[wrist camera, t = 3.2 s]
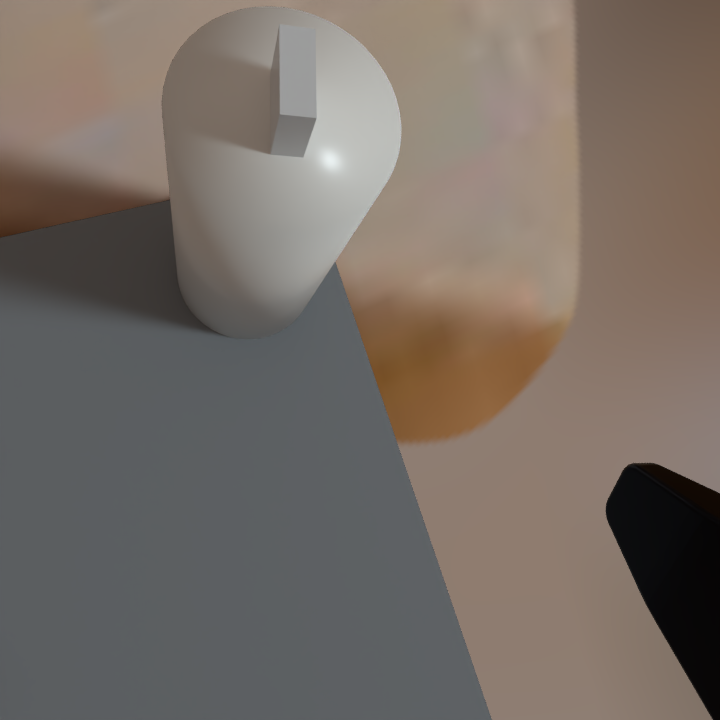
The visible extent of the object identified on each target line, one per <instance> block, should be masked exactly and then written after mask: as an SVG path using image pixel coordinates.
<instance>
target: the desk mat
mask: <svg viewBox="0 0 720 720" xmlns="http://www.w3.org/2000/svg"><path fill="white" fill-rule="evenodd" d="M0 720H492V719H491V716H490V714H489V710H488V707H487V705H486V702H485V699H484V696H483V693H482V690H481V687H480V684H479V681H478V678H477V675H476V673H475V670H474V666H473V664H472V661H471V658H470V655H469V652H468V649H467V646H466V643H465V640H464V637H463V635H462V631H461V629H460V626H459V623H458V620H457V617H456V614H455V611H454V608H453V605H452V602H451V599H450V596H449V593H448V590H447V587H446V585H445V582H444V579H443V576H442V573H441V570H440V567H439V564H438V561H437V558H436V556H435V552H434V549H433V547H432V544H431V541H430V538H429V535H428V532H427V529H426V526H425V523H424V520H423V517H422V515H421V512H420V509H419V506H418V503H417V500H416V497H415V494H414V491H413V488H412V485H411V482H410V480H409V477H408V473H407V471H406V468H405V465H404V462H403V459H402V456H401V453H400V450H399V447H398V444H397V441H396V438H395V435H394V432H393V430H392V427H391V424H390V421H389V418H388V415H387V412H386V409H385V406H384V403H383V400H382V397H381V394H380V392H379V389H378V386H377V383H376V380H375V377H374V374H373V371H372V368H371V365H370V362H369V359H368V356H367V354H366V351H365V348H364V345H363V342H362V339H361V336H360V333H359V330H358V327H357V324H356V321H355V318H354V315H353V313H352V310H351V307H350V304H349V301H348V298H347V295H346V292H345V289H344V286H343V283H342V280H341V277H340V275H339V272H338V269H337V266H336V263H335V262H334V264H333V266H332V267H331V269H330V270H329V272H328V273H327V275H326V276H325V278H324V279H323V281H322V282H321V284H320V285H319V287H318V288H317V290H316V292H315V293H314V295H313V296H312V298H311V299H310V301H309V302H308V304H307V305H306V307H305V308H304V310H303V311H302V313H301V314H300V316H299V317H298V318H297V319H296V320H295V321H294V322H293V323H292V324H290V325H289V326H288V327H287V328H285V329H283V330H282V331H280V332H278V333H276V334H273V335H271V336H267V337H264V338H258V339H237V338H232V337H228V336H225V335H222V334H220V333H218V332H216V331H214V330H212V329H210V328H209V327H207V326H206V325H204V324H203V323H202V322H201V321H200V320H198V319H197V318H196V317H195V315H194V314H193V313H192V312H191V311H190V309H189V308H188V306H187V305H186V303H185V301H184V299H183V297H182V295H181V292H180V289H179V284H178V279H177V268H176V257H175V246H174V236H173V225H172V214H171V204H170V200H168V201H163V202H159V203H154V204H150V205H145V206H141V207H136V208H132V209H127V210H123V211H118V212H114V213H109V214H105V215H100V216H96V217H91V218H87V219H82V220H78V221H73V222H69V223H64V224H60V225H55V226H51V227H46V228H42V229H37V230H33V231H28V232H24V233H19V234H15V235H10V236H6V237H1V238H0Z"/></svg>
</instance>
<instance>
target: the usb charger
mask: <svg viewBox="0 0 720 720" xmlns="http://www.w3.org/2000/svg"><path fill="white" fill-rule="evenodd" d="M162 118H163V129H164V140H165V150H166V161H167V172H168V182H169V193H170V204H171V214H172V225H173V236H174V246H175V257H176V268H177V279H178V284H179V289H180V292H181V295H182V297H183V299H184V301H185V303H186V305H187V306H188V308H189V309H190V311H191V312H192V313H193V314H194V315H195V317H196V318H197V319H198V320H200V321H201V322H202V323H203V324H204V325H206V326H207V327H209V328H210V329H212V330H214V331H216V332H218V333H220V334H222V335H225V336H228V337H232V338H237V339H258V338H264V337H267V336H271V335H273V334H276V333H278V332H280V331H282V330H283V329H285V328H287V327H288V326H289V325H290V324H292V323H293V322H294V321H295V320H296V319H297V318H298V317H299V316H300V314H301V313H302V311H303V310H304V308H305V307H306V305H307V304H308V302H309V301H310V299H311V298H312V296H313V295H314V293H315V292H316V290H317V288H318V287H319V285H320V284H321V282H322V281H323V279H324V278H325V276H326V275H327V273H328V272H329V270H330V269H331V267H332V266H333V264H334V262H335V261H336V259H337V258H338V256H339V255H340V253H341V252H342V250H343V249H344V247H345V246H346V244H347V243H348V241H349V240H350V238H351V236H352V235H353V233H354V232H355V230H356V229H357V227H358V226H359V224H360V223H361V221H362V220H363V218H364V217H365V215H366V214H367V212H368V211H369V209H370V207H371V206H372V204H373V203H374V201H375V200H376V198H377V197H378V195H379V194H380V192H381V191H382V189H383V188H384V186H385V185H386V183H387V181H388V180H389V178H390V176H391V174H392V172H393V170H394V168H395V164H396V161H397V158H398V155H399V150H400V144H401V119H400V111H399V107H398V103H397V99H396V96H395V94H394V91H393V88H392V86H391V84H390V82H389V80H388V78H387V76H386V74H385V72H384V71H383V69H382V68H381V66H380V65H379V64H378V62H377V61H376V59H375V58H374V57H373V56H372V55H371V54H370V52H369V51H368V50H367V49H366V48H365V47H364V46H363V45H362V44H361V43H360V42H359V41H357V40H356V39H355V38H354V37H353V36H351V35H350V34H349V33H347V32H346V31H345V30H343V29H342V28H340V27H338V26H336V25H335V24H333V23H331V22H329V21H327V20H325V19H323V18H321V17H318V16H316V15H313V14H310V13H307V12H304V11H301V10H296V9H291V8H285V7H273V6H265V7H252V8H245V9H240V10H237V11H233V12H230V13H226V14H224V15H222V16H220V17H218V18H215V19H213V20H212V21H210V22H208V23H207V24H205V25H204V26H202V27H201V28H199V29H198V30H197V31H196V32H195V33H194V34H192V35H191V36H190V37H189V38H188V39H187V41H186V42H185V43H184V44H183V45H182V46H181V47H180V49H179V51H178V52H177V54H176V55H175V57H174V59H173V60H172V63H171V65H170V67H169V70H168V72H167V75H166V79H165V83H164V87H163V95H162Z"/></svg>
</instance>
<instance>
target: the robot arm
mask: <svg viewBox="0 0 720 720" xmlns="http://www.w3.org/2000/svg"><path fill="white" fill-rule="evenodd" d="M606 516H607V520H608V523H609V525H610V527H611V529H612V532H613V534H614V536H615V538H616V540H617V543H618V545H619V547H620V549H621V551H622V554H623V556H624V558H625V560H626V562H627V565H628V566H629V569H630V571H631V573H632V576H633V578H634V580H635V582H636V584H637V586H638V589H639V591H640V593H641V595H642V597H643V599H644V601H645V603H646V605H647V607H648V609H649V610H650V612H651V614H652V616H653V618H654V620H655V621H656V623H657V625H658V627H659V628H660V630H661V632H662V633H663V635H664V637H665V639H666V640H667V642H668V644H669V645H670V647H671V649H672V650H673V652H674V654H675V656H676V657H677V659H678V661H679V663H680V664H681V666H682V668H683V669H684V671H685V673H686V675H687V676H688V678H689V680H690V681H691V683H692V685H693V687H694V688H695V690H696V692H697V693H698V695H699V697H700V698H701V700H702V702H703V703H704V705H705V707H706V709H707V711H708V712H709V714H710V716H711V717H712V719H713V720H720V493H718V492H716V491H714V490H712V489H710V488H707V487H705V486H703V485H701V484H699V483H696V482H695V481H692V480H690V479H688V478H686V477H684V476H682V475H680V474H677V473H675V472H673V471H671V470H669V469H667V468H665V467H662V466H660V465H658V464H654V463H633V464H629V465H628V466H627V467H625V468H624V470H623V471H622V473H621V475H620V477H619V479H618V481H617V483H616V485H615V487H614V489H613V491H612V492H611V494H610V496H609V498H608V500H607V503H606Z"/></svg>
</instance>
